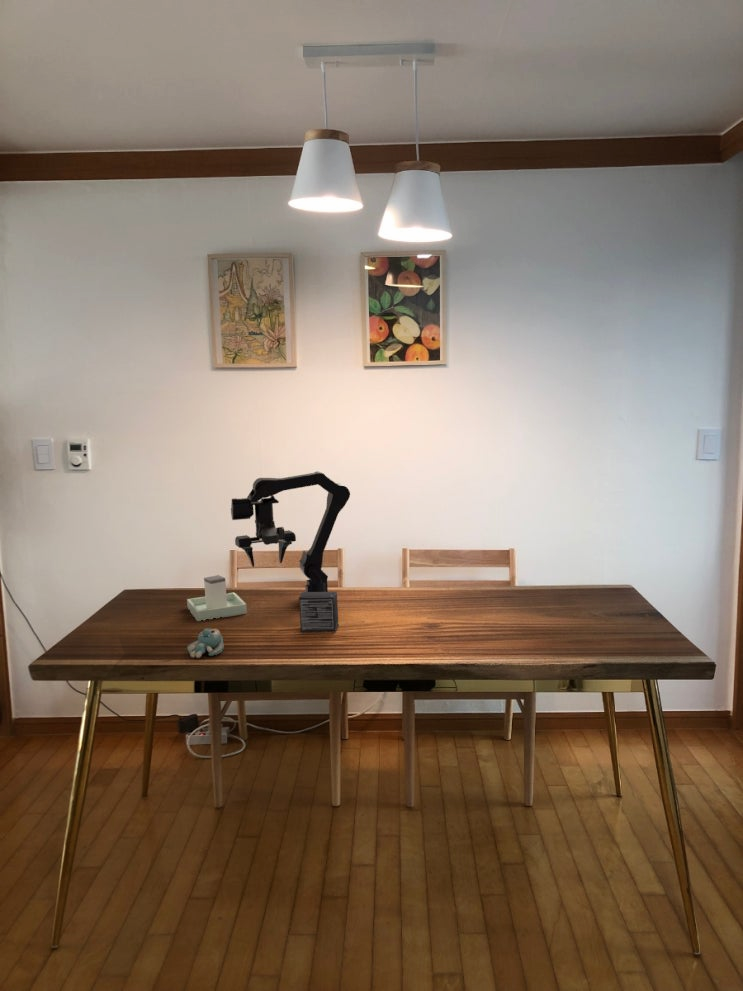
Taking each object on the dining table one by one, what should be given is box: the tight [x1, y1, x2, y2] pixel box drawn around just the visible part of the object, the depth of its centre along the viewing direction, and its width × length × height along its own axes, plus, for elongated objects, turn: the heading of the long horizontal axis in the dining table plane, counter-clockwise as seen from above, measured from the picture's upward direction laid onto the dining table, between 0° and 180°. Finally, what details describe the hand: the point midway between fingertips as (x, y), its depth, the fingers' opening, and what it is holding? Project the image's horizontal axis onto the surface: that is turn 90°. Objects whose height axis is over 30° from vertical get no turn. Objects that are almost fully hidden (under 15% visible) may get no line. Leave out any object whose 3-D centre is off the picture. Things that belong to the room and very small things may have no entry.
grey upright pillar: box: [203, 574, 227, 609], centre depth 254 cm, size 5×5×10 cm
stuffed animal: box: [186, 628, 225, 659], centre depth 217 cm, size 11×7×12 cm
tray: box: [186, 592, 248, 622], centre depth 255 cm, size 16×16×3 cm
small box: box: [298, 591, 340, 633], centre depth 233 cm, size 11×6×10 cm, turn 84°
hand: (267, 565), depth 259 cm, fingers open, 9 cm apart
